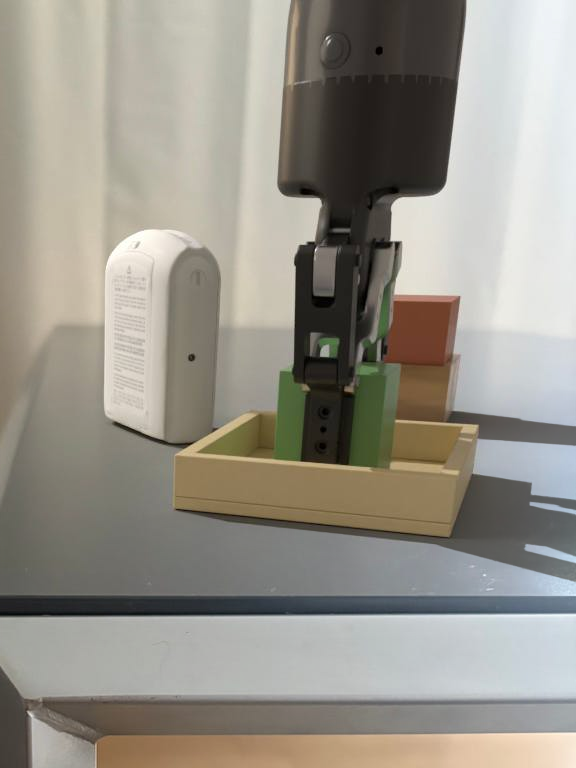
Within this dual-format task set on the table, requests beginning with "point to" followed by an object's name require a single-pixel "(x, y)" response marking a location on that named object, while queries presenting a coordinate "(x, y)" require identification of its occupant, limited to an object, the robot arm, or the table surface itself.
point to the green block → (368, 419)
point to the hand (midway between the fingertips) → (334, 460)
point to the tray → (330, 478)
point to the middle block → (422, 329)
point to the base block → (427, 391)
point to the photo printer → (162, 335)
